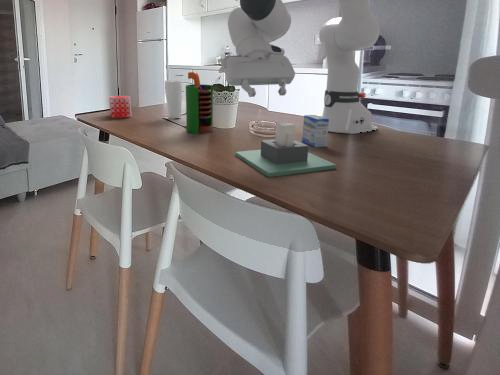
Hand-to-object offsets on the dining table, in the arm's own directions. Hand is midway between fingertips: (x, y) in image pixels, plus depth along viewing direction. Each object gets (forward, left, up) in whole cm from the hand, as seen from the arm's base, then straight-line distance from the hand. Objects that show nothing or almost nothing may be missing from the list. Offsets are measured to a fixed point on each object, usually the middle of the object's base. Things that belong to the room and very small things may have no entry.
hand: (268, 94), depth 102 cm
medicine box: (-19, -4, -16) cm, 25 cm away
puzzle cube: (+31, -75, -16) cm, 83 cm away
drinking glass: (+11, -63, -16) cm, 66 cm away
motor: (+9, -35, -16) cm, 39 cm away
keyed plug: (0, +11, -15) cm, 18 cm away
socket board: (0, +10, -16) cm, 19 cm away
